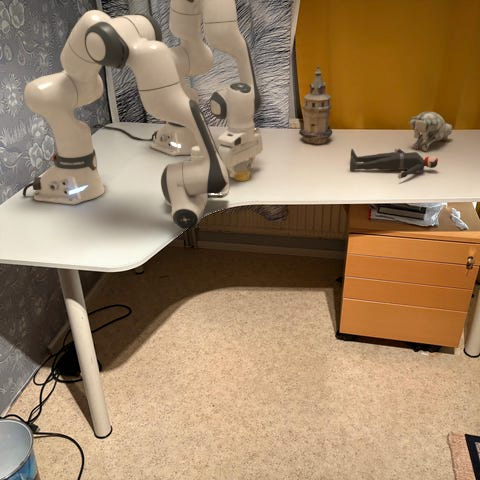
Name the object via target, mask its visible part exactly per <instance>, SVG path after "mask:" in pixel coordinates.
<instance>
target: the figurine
mask: <svg viewBox="0 0 480 480" xmlns="http://www.w3.org/2000/svg"><path fill="white" fill-rule="evenodd" d="M408 124H409V126H410V127H411V129H412V130H413V133H414V134H413V138H414V139H417V140H416V141H415V142H414V143H413V149H415V150H418V149H420V145H421V144H422V142H424V141H425V142H424V144H423V145H422V146H421V149H422V150H423V151H424V152H427V151H428V150H429V146H430V145H431V144H433V142H440V141H441V140H445V141H448V136H450V135H451V134H452V131H453V125H452V124H451V123H450V124H449V123H447V122H446V121H445V120H444V118H443V117H442V116H441V115H440V114H438V113H437V112H434V111H422V112H421V113H419V114H417V116H411V118H410V120H409V121H408Z"/></svg>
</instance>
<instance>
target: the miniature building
mask: <svg viewBox="0 0 480 480" xmlns="http://www.w3.org/2000/svg"><path fill="white" fill-rule="evenodd" d="M320 67H321V66H320V65H317V66H316V68H317V69H316V71H315V72H314V75H315V76H314V79H313V81H312V83H310V84H309V85H308V86H309V93H307V94H306V95H304V96H303V97H302V98H303V105H301V106H302V109H303V114H302V115H303V124H302V127H300V129H299V132H298V134H299V136H300V137H302V139H303V141H305V142H307V143H309V144H314V145H320V144H321V145H322V144H325V143H326V142H327V141H328V140H329V139H330V137H332V135H333V129H331V125H329V120H330V115H331V108H332V106H333V105H332V104H331V98H332V96H331V95H330V94H328V93H326V81H324V82H323V78H322V71H321V70H320Z"/></svg>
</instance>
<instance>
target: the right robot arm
mask: <svg viewBox="0 0 480 480" xmlns="http://www.w3.org/2000/svg"><path fill="white" fill-rule="evenodd" d="M169 3H170V5H169V20H168V28H169V31H170V33H171V34H172V35H173V37H175V38H177V39H179V40H180V44H179V45H178V46H172V47H168V48H169V50H170V53H171V55H172V58H173V60H174V63H175V66H176V69H177V72H178V76H179V80H180V84H181V87H182V89H183V91H184V93H185V94H186V95H187V97H188V98H189V99H191V100H194V101H196V103H197V104H198V105H199V106H200V100H199V99H200V98H199V97H200V95H199V93H198V92H197V90H196V89H195V88H193V87H191V86H189V85H187V82H186V78H189V77H195V76H200V75H203V74H205V73H207V72H209V71H211V70H212V68H213V67H214V66H213V65H214V61H215V58H214V54H213V51H212V49H213V50H216V51H218V52H221V53H224V54H227V55H229V56H231V57H232V58H233V59H234V61H235V63H236V69H237V73H238V77H239V82H233V83H231V84H229V86H228V87H226V88H224V89H220V90H217V91H214V92H213V93H212V94H211V96H210V99H209V110H210V113H211V115H212V116H214V117H215V118H216V119H218V120H227V128H226V129H225V131H224V132H222V134H221V135H220V136H219V137H218V138H217V143H218V144H219V145H218V148H217V150H218V152H219V154H220V156H221V159H222V161H223V163H224V165H225V167H226V169H227V171H228V172H229V177H230V178H234V177H235V176H236V171H235V167H236V166H237V165H239V164H241V163H243V162H245V161H247V160H248V162H247V163H246V169H247V170H252V169H253V168H254V163H255V160H256V156H258V155H260V154H262V152H263V145H264V144H263V138H262V135H261V130H260V127H259V128H258V127H255V121H254V116H255V114H257V112H258V111H259V109H260V108H261V106H262V96H261V93H260V89H259V88H258V87H259V86H258V84H257V80H256V74H255V69H254V64H253V59H252V53H251V49H250V46H249V43H248V41H247V39H246V37H244V36H243V35H242V33H241V31H240V29H239V24H238V13H237V5H236V0H170V2H169ZM202 30H203V35H204V39H205V41H206V43H207V44H208V45H209V46H210V47H211V48H212V49H211V48H210V47H209V46H208V45H207V44H206V43H205V41H204V39H203V37H202ZM97 127H101V128H103V129H109V130H115V131H121V132H122V133H124V134H126V135H128V136H129V137H130V138H132V139H135V140H139V141H145V142H151V144H150V148H152V149H154V150H157V151H159V152H161V153H164V154H167V155H169V156H174V157H175V156H176V157H177V156H182V155H183V156H186V155H191V154H192V151H191V149H192V147H195V146H198V144H197V141H196V139H195V136H194V134H193V133H192V131H191V130H190V129H189V128H187V127H185V126H183V125H180V124H176V123H172V122H166V124H164V125H163V126H162V127H161V128H160V129H158V130H156V131H154V132H153V134H152V135H151V138H149V139H147V138H146V139H144V138H141V137H137V136H133V135H132V134H131V133H129V132H127V131H126V130H125V129H122V128H119V127H113V126H107V125H104V124H100V123H98V124H97V123H96V124H95V125H93V128H97ZM153 140H155V141H153ZM152 141H153V142H152Z"/></svg>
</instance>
